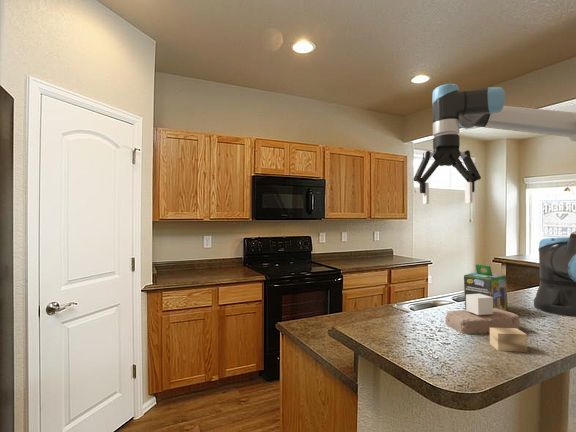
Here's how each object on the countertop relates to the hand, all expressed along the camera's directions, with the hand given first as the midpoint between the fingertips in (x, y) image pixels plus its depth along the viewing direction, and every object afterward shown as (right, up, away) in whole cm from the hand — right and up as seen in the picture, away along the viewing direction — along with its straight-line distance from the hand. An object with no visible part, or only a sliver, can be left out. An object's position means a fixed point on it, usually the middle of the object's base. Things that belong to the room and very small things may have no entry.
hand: (447, 203), depth 101 cm
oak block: (+1, -35, -26) cm, 44 cm away
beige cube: (+3, -31, -12) cm, 33 cm away
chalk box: (+14, -35, +4) cm, 38 cm away
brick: (+3, -35, -13) cm, 38 cm away
